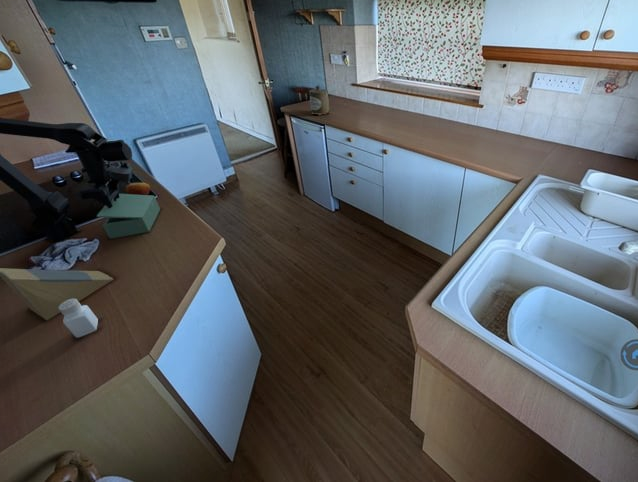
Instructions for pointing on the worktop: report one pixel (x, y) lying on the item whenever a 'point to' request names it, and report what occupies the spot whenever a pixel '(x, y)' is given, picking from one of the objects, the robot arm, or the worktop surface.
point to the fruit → (138, 188)
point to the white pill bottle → (78, 318)
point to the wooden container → (319, 100)
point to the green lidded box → (132, 223)
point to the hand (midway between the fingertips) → (114, 202)
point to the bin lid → (126, 206)
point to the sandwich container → (52, 287)
